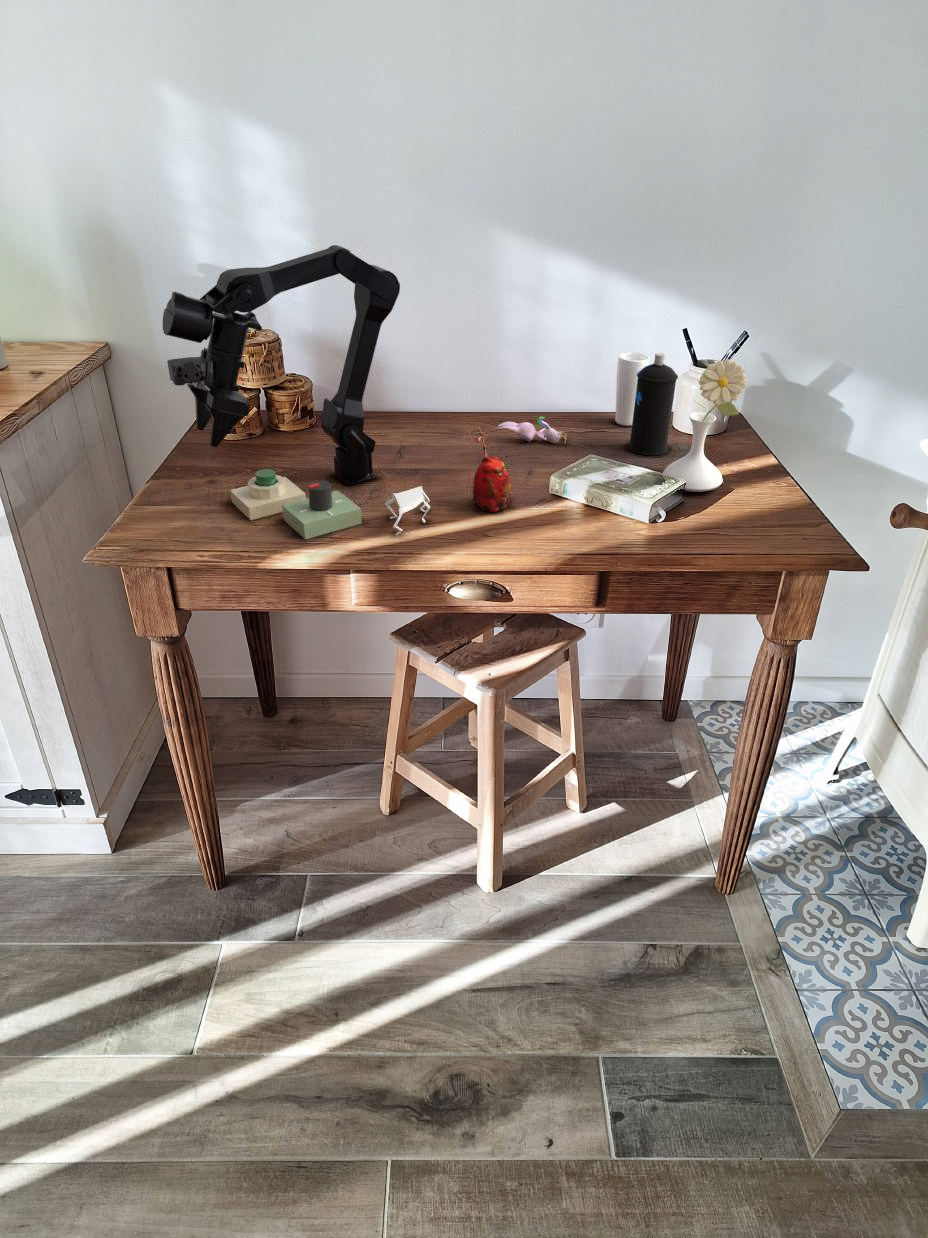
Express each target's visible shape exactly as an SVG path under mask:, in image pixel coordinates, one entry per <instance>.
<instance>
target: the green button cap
mask: <svg viewBox="0 0 928 1238" xmlns="http://www.w3.org/2000/svg"><path fill="white" fill-rule="evenodd" d="M276 475H277V474H276V471H275V470H273V469H269V468H265V469H259V470H257V471H256V472H255V473H254V477H256V484H257V485H258V486H271V485H274V484H276V483H277V482H276Z"/></svg>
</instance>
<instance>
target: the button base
mask: <svg viewBox="0 0 928 1238" xmlns="http://www.w3.org/2000/svg"><path fill="white" fill-rule="evenodd" d="M276 482H277V483H276V484H274V485H271V486H258V485H257V484H256V477H255V476H253V477H251V478H249V480H248V481H247V485H245V486H240V487H237V488H233V489H230V490H229V492H230V498H231V499H230V500H231V503H232V504H233V506H235V507H236V508H237V509H238V510H239V511H240V512H242V513H243V515H245V517H247V519H249V520H250V521H254V520H256V519H257V520H258V519H260V518H261V519H262V518H265V517H269V516H273V515H276V514H281V513H283V510H282V505H283V504H287V503H291V502H295V501H298V500H302V499H306V498H307V494H306V492H305V491H303V490H302V489H301V488H300V487H298V486H297V485H296V484H295V483H294V482H292V481H291V480H290V479H289V478H287V477H286V476H282V475H279V474H276Z"/></svg>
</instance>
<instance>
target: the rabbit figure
mask: <svg viewBox="0 0 928 1238" xmlns="http://www.w3.org/2000/svg"><path fill="white" fill-rule="evenodd" d="M545 419H546V417H544V416H539V417H538V418H537V420H536V423H537V425H538V426H539V427H541V428H542V429H540V430H538V431H537V430H536V427H535V426H534V424H532V423H531V422H527V421H524V422H520V423H519V422H518V423H517V422H515V421H504V422H502V423H500V424H498V425H497V430H509V431H511V432H514V433H515V434H517V437H518V438H519V439H522V440H525V441H526V442H528V443H529V442H531V441H533V440H534V439H535V437H537V438H538V439H539V440H541V441H547V442H549V443H551V444H553V445H556V444H559V442H560V441H561V439H563V440H564V441H563V444H564V445H566V442H567V440H568V438H567V437H568V436H567V431H565V432H564V431H562V430H560V431H557V430H556V429H555V428H552V427H550V425H549V424H548V422H545V421H544V420H545Z"/></svg>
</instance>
